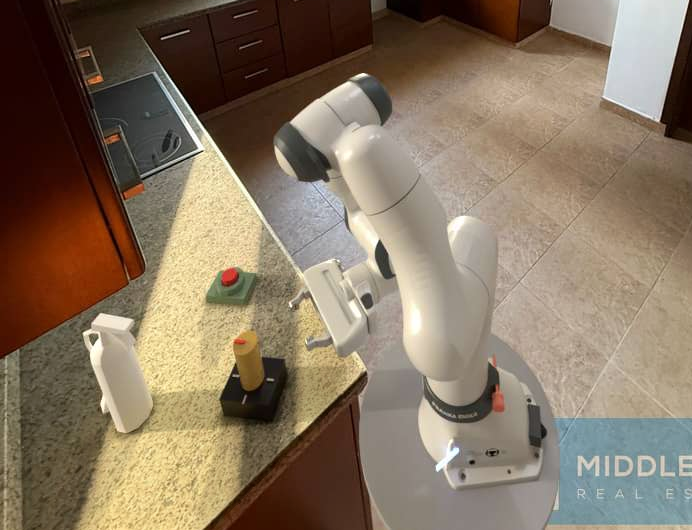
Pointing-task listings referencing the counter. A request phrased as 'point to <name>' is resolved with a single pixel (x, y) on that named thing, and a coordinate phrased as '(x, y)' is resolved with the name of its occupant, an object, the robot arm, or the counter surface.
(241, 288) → the button box
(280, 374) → the black block
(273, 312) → the counter surface
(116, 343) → the white plastic jug
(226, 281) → the button
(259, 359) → the yellow cylinder
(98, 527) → the counter surface
